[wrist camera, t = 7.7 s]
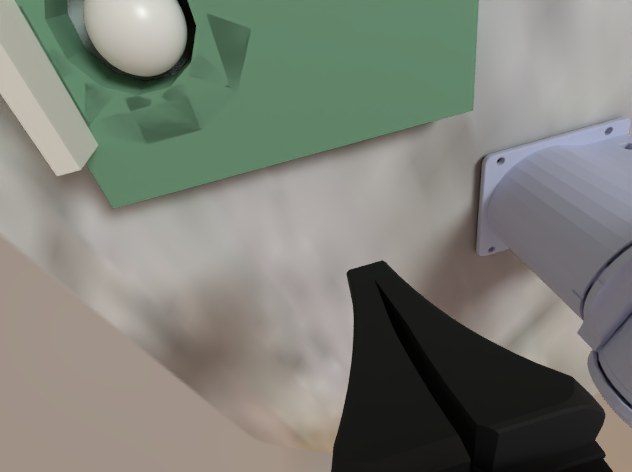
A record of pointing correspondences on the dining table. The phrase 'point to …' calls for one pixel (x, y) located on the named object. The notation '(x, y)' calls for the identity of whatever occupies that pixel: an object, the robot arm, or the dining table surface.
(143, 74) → the ball
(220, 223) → the dining table surface
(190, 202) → the dining table surface
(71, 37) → the green
